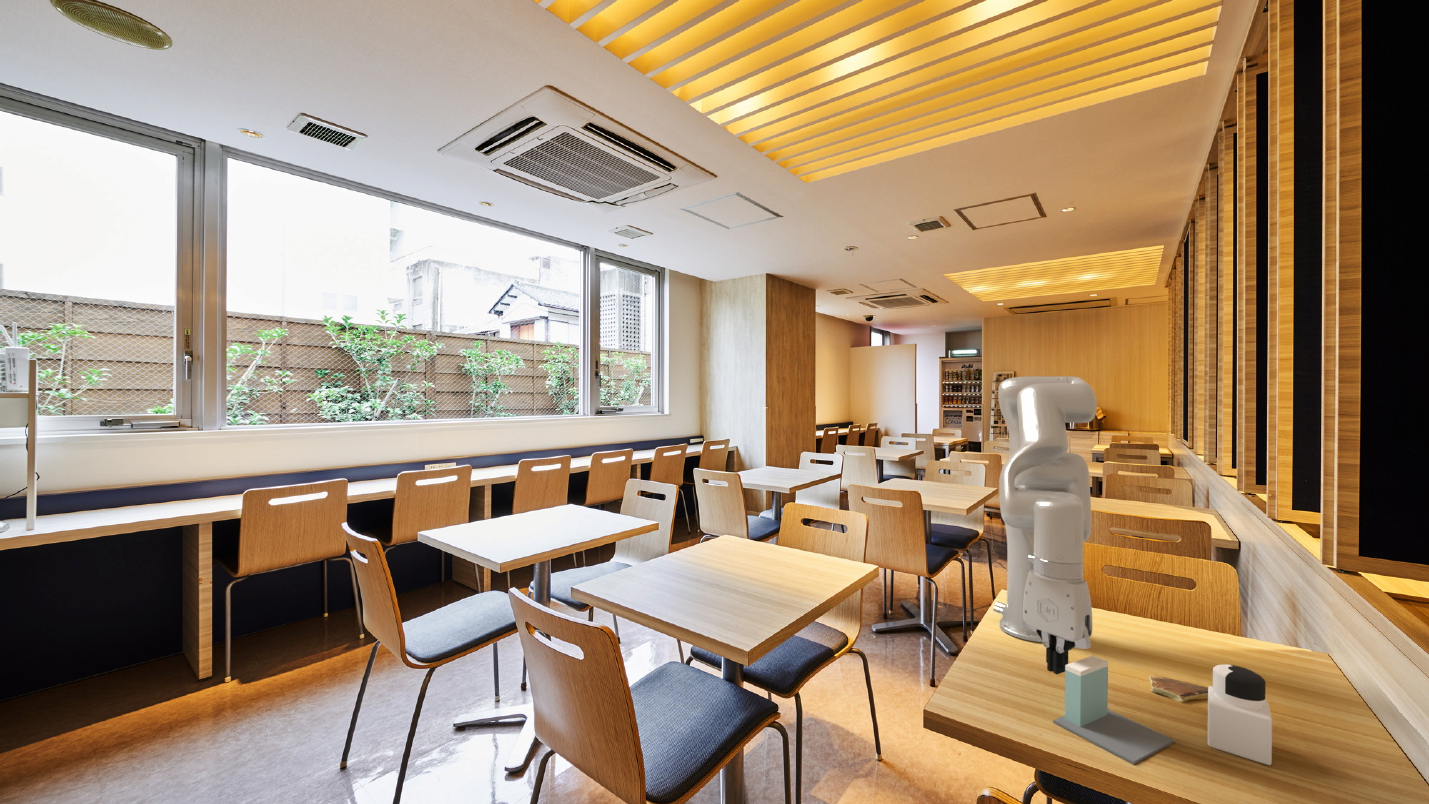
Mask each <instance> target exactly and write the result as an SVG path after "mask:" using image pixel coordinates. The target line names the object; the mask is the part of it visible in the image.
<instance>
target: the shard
mask: <svg viewBox="0 0 1429 804" xmlns="http://www.w3.org/2000/svg"><path fill="white" fill-rule="evenodd" d="M1149 681H1150V685H1151V692H1153V693H1155V694H1159V695H1162V696H1164V697H1168V698H1171V699H1173V700H1174V701H1177V702H1179V703H1185V702H1187V701H1191V700H1192V701H1193V700H1203V699H1208V687H1209V686H1202V685H1198V684H1196V683H1192V682H1188V681H1182V680H1179V679H1174V678H1169V677H1164V676H1159V675H1156V674H1155V675H1154V674H1153V675H1152V674H1151V675H1149Z"/></svg>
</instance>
